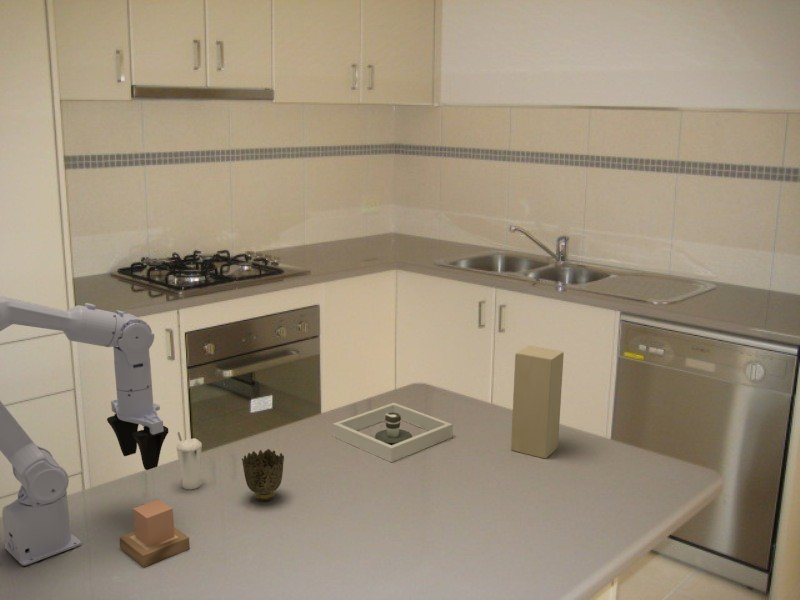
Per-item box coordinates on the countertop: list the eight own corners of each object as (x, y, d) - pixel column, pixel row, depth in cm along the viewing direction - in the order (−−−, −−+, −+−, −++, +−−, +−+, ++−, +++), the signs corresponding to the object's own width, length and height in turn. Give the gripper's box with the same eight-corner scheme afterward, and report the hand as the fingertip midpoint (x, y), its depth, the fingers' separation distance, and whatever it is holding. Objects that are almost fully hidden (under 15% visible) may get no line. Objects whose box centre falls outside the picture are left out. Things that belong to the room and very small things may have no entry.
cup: (293, 497, 155) (292, 456, 153) (261, 511, 149) (259, 470, 147) (268, 485, 160) (266, 445, 158) (235, 498, 154) (233, 457, 152)
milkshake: (191, 477, 163) (188, 428, 160) (209, 485, 160) (206, 435, 157) (171, 485, 159) (168, 435, 157) (189, 493, 156) (185, 443, 154)
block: (149, 547, 134) (146, 518, 133) (135, 536, 137) (132, 508, 136) (174, 536, 137) (172, 508, 136) (160, 526, 140) (158, 499, 139)
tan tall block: (560, 446, 177) (565, 350, 172) (546, 459, 171) (551, 359, 166) (525, 438, 181) (528, 344, 176) (510, 450, 175) (513, 353, 170)
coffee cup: (421, 447, 176) (421, 425, 174) (363, 447, 176) (362, 425, 175) (420, 425, 187) (420, 404, 186) (366, 425, 187) (365, 404, 186)
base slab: (144, 567, 132) (143, 555, 132) (120, 548, 138) (119, 536, 137) (189, 548, 137) (189, 537, 137) (164, 530, 143) (163, 519, 142)
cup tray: (391, 462, 169) (391, 448, 169) (333, 436, 182) (333, 423, 181) (452, 437, 181) (452, 424, 181) (393, 415, 194) (393, 402, 193)
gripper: (177, 390, 140) (182, 467, 143) (135, 370, 150) (141, 442, 153) (138, 401, 135) (144, 480, 138) (97, 379, 145) (103, 453, 148)
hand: (140, 461), depth 145 cm, fingers open, 7 cm apart
